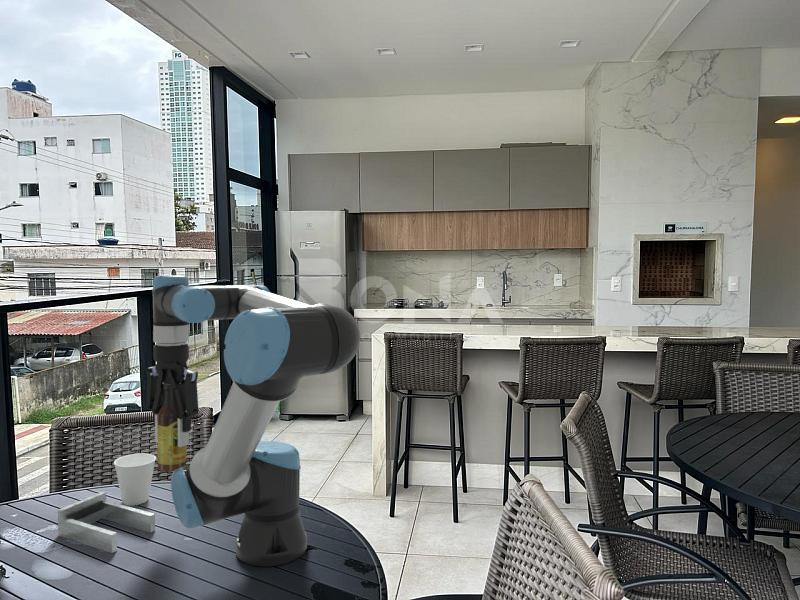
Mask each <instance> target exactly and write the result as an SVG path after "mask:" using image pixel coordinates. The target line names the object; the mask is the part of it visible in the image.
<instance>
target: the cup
mask: <svg viewBox="0 0 800 600" xmlns="http://www.w3.org/2000/svg"><path fill="white" fill-rule="evenodd" d="M156 460H157V455H154V454H152V453H145V452H143V453H131V454H126V455H124V456H123V455H122V456H120V457H117V458H116V459H115V460H114V462H113V465H114V467H115V471H116V477H117V481H118V486H119V491H120V498H121V502H122V503H123V505H125V506H128V507H133V506H134V507H135V505H136V506H139V504H140V505H143V504H145V503H146V502H147V501H148V500H149V498H150V492H151V485H152V480H153V473H154V469H155V463H156V462H155V461H156ZM142 503H143V504H142Z"/></svg>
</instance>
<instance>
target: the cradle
mask: <svg viewBox="0 0 800 600" xmlns="http://www.w3.org/2000/svg"><path fill="white" fill-rule="evenodd" d="M102 519H103V520H105V521H110V522H113V523H117V524H120V525H123V526H125V527H130V528H133V529H137V530H140V531H144V532H147V533H151V534H152V533H154V532H155V531H156V513H154V512H150V511H146V510H143V509H138V508H135V507H133V506H128V505H125V504H121V503H117V502H114V501H109V500H107V492H106V491H101V492H98V493H95V494H93V495H91V496H88V497H86V498H84V499H82V500H78V501H76V502H74V503H72V504H71V503H70V504H68V505H66V506H64V507H61V508H59V509H57V531H58V533H57V535H58V537H61V538H64V539H67V540H70V541H74V542H76V543H79V544H82V545H85V546H89V547H92V548H94V549H98V550H100V551H103V552H106V553H110V554H114V553H115V552H117V551H118V540H117V539H118V536H117V532H116V531H113V530H109V529H106V528H102V527H99V526H96V525H92V524H93V522H94V523H95V522H97V521H100V520H102Z"/></svg>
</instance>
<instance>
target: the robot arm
mask: <svg viewBox="0 0 800 600" xmlns="http://www.w3.org/2000/svg"><path fill="white" fill-rule="evenodd" d="M152 282H153V283H152V290H151V292H152V311H153V312H152V318H153V325H152V326H153V330H152V335H153V336H152V337H153V338H152V341H153V343H155V344H154V345H153V360H154V362H156V364H155V365H154V366H150V367H146V368H145V372H146V378H147V380H146V400H145V402H146V403H145V409H146V410H147V411H149V410H150V411H151V412H152V414H153V418H152V419H153V427H154V431H155V433H154V438H155V439H154V442H155V443H156V444H158V414H159V411H160V409H161V407H162V406H163V404H164V389H163V384H164V383H165V384H171V387H172V389H173V390H174V392H175V396H176V400H177V404H178V408H179V412H180V417H178V447H182V446H185V445H187V446H188V445H189V444H190V431H191V430H192V417H193V416H195V415H198V414H199V413H200V412H199V411H200V410H199V399H198V398H199V397H198V384H197V383H198V382H197V380H198V377H199V372H198V371H197V370H196V371H194V370H193V371H192V370H190V369H189V367H188V363H187V362H188V360H189V359H190V345H189V343H187V342H189V340H190V338H189V336H190V326H189V325H190V324H192V323H194V324H195V323H196V324H198V323H204V322H205V321H217V320H218V321H219V320H232V322H230V324H229V327H228V329H227V331H226V333H225V337H224V342H223V343H224V345H225V349H224V350H223V360H224V365H225V369H226V371H227V373H228V375H229V377H230V379H231V380H232V385H231V386H230V388H229V391H228V393H227V395H226V399H225V401H224V403H223V405H222V408H221V411H220V413H219V415H218V418H217V419H216V423H215V425H214V427H213V430H212V432H211V434H210V437H209V439H208V441H207V443H206V446H204V447H203V448H200V450H198V451H197V452H196V453H195V454H194V455H193V457H192V459H191V460H190V464H189V465H188V466H185V467H184V468H183V467H181V468H179V469H176V470H175V471H172V473H171V479H170V488H171V496H172V501H173V505H174V508H175V511H176V516H177V518H178V519H179V521H180V523H181V524H182V525H183V526H184V527H185V528H187V529H194V528H198V527H205V526H206V525H209V524H213V523H216V522H220V521H223V520H226V519H229V518H232V517H235V516H239V515H242V514H244V517H243V520H242V523H241V526H240V529H239V532H238V535H237V537H236V542H235V546H236V547H235V553H236V556H237V559H239V560H240V561H241V562H242V563H244V564H248V565H250V566H255V567H276V566H277V567H278V566H281V565H286V564H288V563H291V562H293V561H295V560H297V559H299V558H300V557H302V556H303V555H304V554H305V553H306V551H307V548H308V536H307V532H306V530H305V527H304V523H303V520H302V516H301V513H300V487H301V486H300V480H301V479H300V476H301V475H300V473H301V472H300V471H301V458H300V452H299V450H298V449H297V448H296V447H295V446H294V445H292V444H290V443H286V442H283V441H276V440H262V437H263V436H264V434H265V432H266V430H267V428H268V426H269V424H270V421H271V419H272V418H273V416H274V414H275V412H276V409H277V408H278V406H279V404H280V402H282V401H284V400H287V399H288V398H290V397H291V396H292V395H293V394H294V393H295V391H296V390H297V388H298V386H299V384H300V382H301V380H302V379H303V378H304V377H311V376H317V375H323V374H329V373H330V374H331V373H333V372H336V371H338V370H341V369H343V368H345V367H346V365H348V364H349V363H351V361H352V360H353V359H354V357H355V356H356V353H357V352H358V350H359V347H360V343H361V332H360V328H359V325H358V322H357V320H356V319H355V317H354V316H353V315H352V314H351V313H350V312H349V311H347V310H346V309H344V308H342V307H339V306H336V305H335V306H334V305H331V304H328V303H318V304H317V303H316V304H314V305H312V304H309V303H305V302H301V301H299V300H296V299H291V298H288V297H285V296H282V295H280V294H279V295H278V294H276V293H272V292H271V291H270V289H269V288H268V287H267V286H265V285H259V284H258V285H257V284H248V285H242V284H241V285H189V284H190V282H189V278H188V277H187V276H186V275H176V274H175V275H171V274H169V275H168V274H167V275H164V274H163V275H157V276H155V277H154V278H153V281H152ZM180 383H181V384H180ZM177 384H179V385H177Z"/></svg>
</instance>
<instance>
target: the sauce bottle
mask: <svg viewBox="0 0 800 600" xmlns="http://www.w3.org/2000/svg"><path fill="white" fill-rule="evenodd" d="M180 384H181V383H180ZM177 385H179V384H177ZM163 389H164V404H163V406H162V407H161V409H160V411H159V414H158V443H157V453H156V454H157V455H156V460H157V469H158V471H160V472H164V473H171V472H172V473H173V472H174V471H175V470H176V469H179V468H181V467H183V468H185V467H186V463H187V462H186V461H187V457H188V456H187V455H188V454H187V451H188V450H187V447H188V445H185V446H182V447H178V417H180V412H179V408H178V404H177V400H176V396H175V392H174V390H173V389H172V387H171V384H165V383H164V384H163Z"/></svg>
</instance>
